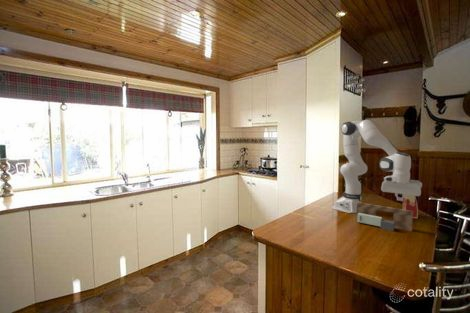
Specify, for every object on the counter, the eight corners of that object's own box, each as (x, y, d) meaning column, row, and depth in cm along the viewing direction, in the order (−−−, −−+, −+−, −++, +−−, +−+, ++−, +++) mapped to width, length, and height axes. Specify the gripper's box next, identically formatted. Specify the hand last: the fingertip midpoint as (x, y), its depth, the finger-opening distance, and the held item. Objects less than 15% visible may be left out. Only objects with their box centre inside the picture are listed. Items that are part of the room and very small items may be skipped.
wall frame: (356, 219, 170) (356, 202, 169) (357, 219, 171) (357, 202, 170) (411, 231, 149) (412, 211, 148) (412, 230, 151) (413, 211, 149)
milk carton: (414, 214, 179) (416, 188, 177) (418, 218, 171) (419, 191, 169) (400, 213, 183) (401, 187, 181) (402, 216, 175) (404, 190, 173)
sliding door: (357, 221, 163) (357, 214, 162) (358, 220, 166) (358, 212, 165) (380, 226, 154) (380, 218, 153) (381, 225, 157) (381, 217, 156)
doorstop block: (380, 228, 154) (380, 221, 153) (381, 226, 157) (382, 219, 157) (393, 231, 149) (393, 223, 149) (394, 229, 153) (394, 221, 152)
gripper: (422, 180, 142) (421, 202, 144) (383, 176, 155) (381, 196, 157) (422, 181, 137) (420, 205, 139) (381, 177, 151) (380, 198, 152)
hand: (399, 200), depth 148 cm, fingers closed
